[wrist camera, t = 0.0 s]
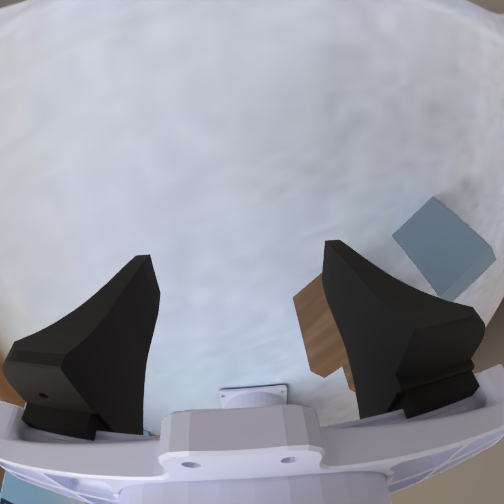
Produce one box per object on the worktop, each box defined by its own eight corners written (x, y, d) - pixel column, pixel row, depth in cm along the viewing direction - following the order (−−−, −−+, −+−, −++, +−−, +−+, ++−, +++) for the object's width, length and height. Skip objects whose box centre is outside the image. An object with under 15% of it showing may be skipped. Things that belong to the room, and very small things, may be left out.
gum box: (31, 388, 35) (-6, 516, 16) (35, 376, 33) (-6, 517, 14) (138, 439, 43) (127, 561, 23) (151, 431, 41) (142, 565, 21)
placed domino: (392, 235, 24) (439, 296, 18) (433, 196, 23) (491, 246, 16) (400, 246, 25) (446, 306, 18) (440, 208, 23) (496, 259, 17)
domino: (292, 297, 27) (310, 371, 20) (335, 260, 25) (368, 330, 19) (304, 305, 28) (324, 377, 21) (346, 270, 26) (380, 339, 19)
